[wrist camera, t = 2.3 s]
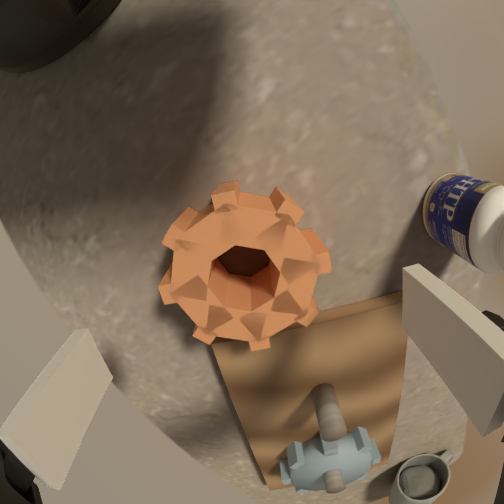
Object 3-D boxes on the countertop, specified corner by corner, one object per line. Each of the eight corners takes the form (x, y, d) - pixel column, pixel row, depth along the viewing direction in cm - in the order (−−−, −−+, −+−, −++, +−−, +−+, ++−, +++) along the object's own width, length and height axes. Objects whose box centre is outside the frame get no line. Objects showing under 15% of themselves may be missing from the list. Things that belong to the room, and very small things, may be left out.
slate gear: (272, 438, 24) (274, 460, 21) (376, 414, 23) (385, 434, 21) (286, 481, 27) (288, 499, 24) (370, 462, 26) (376, 479, 24)
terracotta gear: (159, 198, 18) (135, 214, 14) (300, 167, 18) (317, 173, 14) (196, 321, 21) (186, 361, 17) (321, 297, 21) (337, 333, 16)
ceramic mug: (381, 488, 32) (394, 526, 25) (388, 464, 29) (406, 509, 22) (442, 463, 32) (459, 497, 24) (456, 436, 29) (478, 474, 22)
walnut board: (213, 332, 22) (203, 389, 16) (400, 291, 21) (440, 334, 15) (269, 480, 29) (271, 521, 23) (383, 454, 28) (397, 492, 22)
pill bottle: (452, 157, 18) (544, 175, 9) (481, 210, 19) (563, 246, 10) (407, 206, 19) (493, 248, 10) (441, 257, 20) (516, 312, 12)
